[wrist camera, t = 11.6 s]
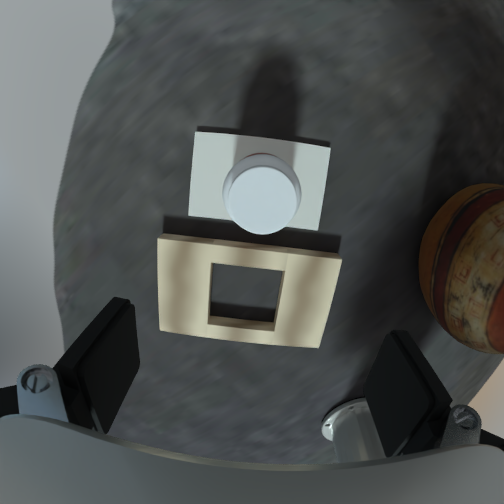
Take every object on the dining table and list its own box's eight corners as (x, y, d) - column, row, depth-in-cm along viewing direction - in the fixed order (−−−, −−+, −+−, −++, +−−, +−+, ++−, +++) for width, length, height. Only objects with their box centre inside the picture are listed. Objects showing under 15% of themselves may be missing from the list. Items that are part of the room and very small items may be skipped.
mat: (329, 148, 29) (330, 148, 28) (316, 229, 32) (317, 230, 31) (196, 132, 28) (195, 131, 28) (189, 214, 31) (188, 215, 31)
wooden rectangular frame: (337, 253, 33) (342, 259, 31) (316, 338, 37) (318, 347, 35) (163, 233, 32) (157, 238, 30) (164, 321, 36) (160, 330, 34)
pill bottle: (237, 147, 28) (225, 145, 18) (296, 159, 29) (318, 166, 18) (225, 205, 30) (208, 235, 20) (283, 217, 31) (295, 253, 20)
